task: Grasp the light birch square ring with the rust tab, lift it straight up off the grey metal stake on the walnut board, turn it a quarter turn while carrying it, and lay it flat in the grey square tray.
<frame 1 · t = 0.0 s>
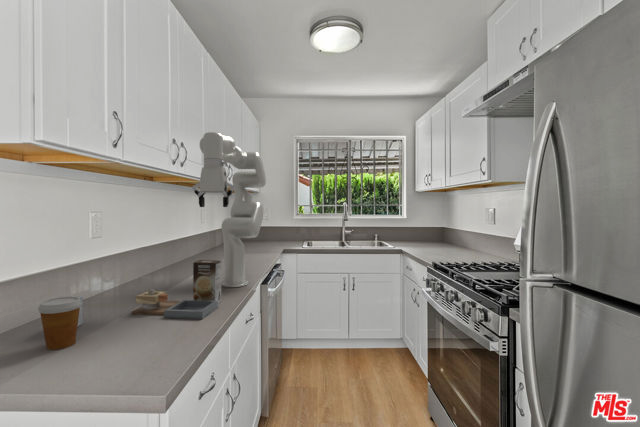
hand: (213, 207, 142), 37 cm above the worktop, tool pointing down, fingers open, 9 cm apart
stake board: (159, 308, 128), on the worktop
birch ring: (151, 300, 126), point 3 cm above the worktop, touching stake board
brown food box: (207, 303, 136), on the worktop
medicine box: (69, 329, 108), on the worktop
grey square tray: (192, 312, 124), on the worktop
disposable coffee cup: (61, 345, 95), on the worktop
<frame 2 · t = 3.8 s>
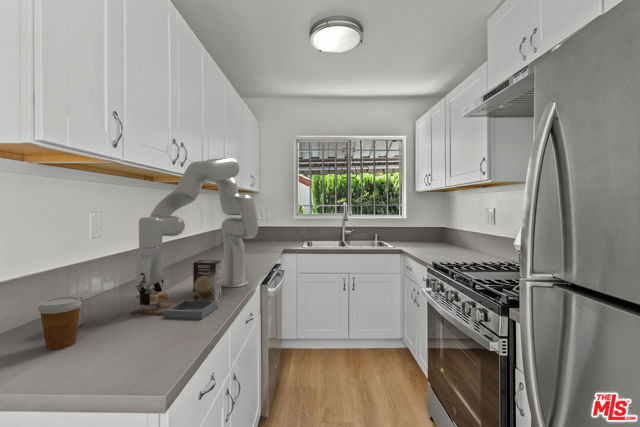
hand: (151, 301, 126), 3 cm above the worktop, tool pointing down, fingers closed on birch ring, 7 cm apart
birch ring: (151, 300, 126), point 4 cm above the worktop, touching gripper, stake board
everything else where it was.
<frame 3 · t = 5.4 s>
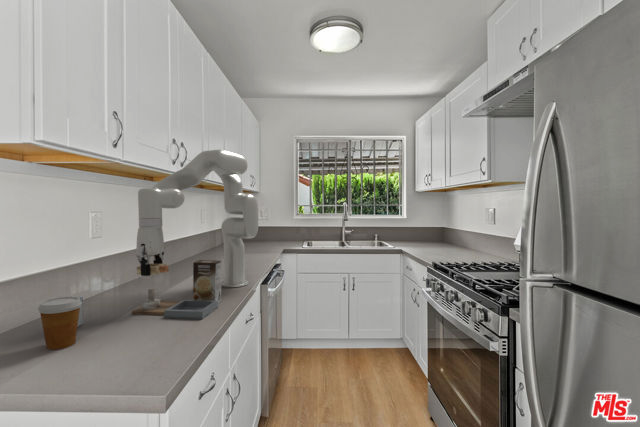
hand: (152, 272, 126), 13 cm above the worktop, tool pointing down, fingers closed on birch ring, 7 cm apart
birch ring: (152, 272, 126), point 14 cm above the worktop, touching gripper
everything else where it was.
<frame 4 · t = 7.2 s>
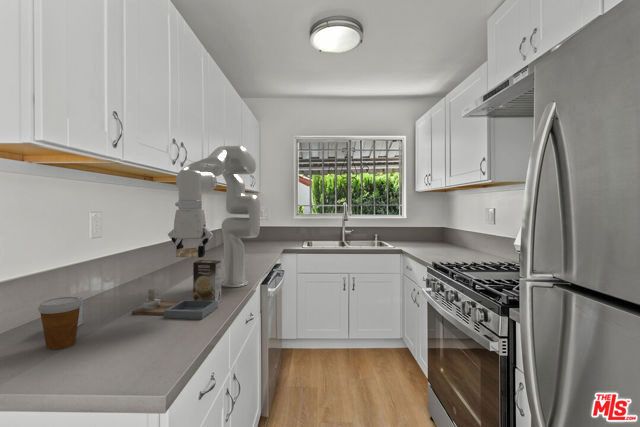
hand: (190, 256, 123), 20 cm above the worktop, tool pointing down, fingers closed on birch ring, 7 cm apart
birch ring: (190, 255, 123), point 20 cm above the worktop, touching gripper
everything else where it was.
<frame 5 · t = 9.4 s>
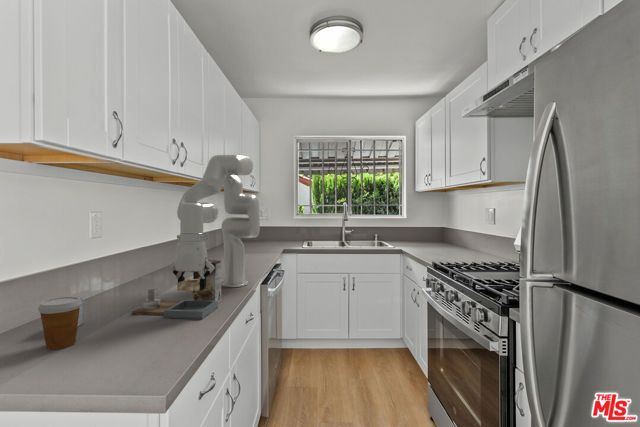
hand: (192, 288, 123), 8 cm above the worktop, tool pointing down, fingers closed on birch ring, 7 cm apart
birch ring: (192, 288, 123), point 9 cm above the worktop, touching gripper
everything else where it was.
when the fingers open (2 cm above the worktop, at t = 11.1 s): birch ring drops 1 cm, resting on grey square tray.
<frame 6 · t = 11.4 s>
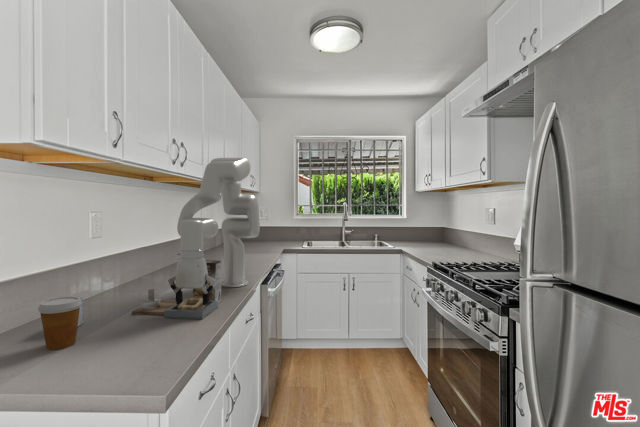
hand: (192, 303, 124), 3 cm above the worktop, tool pointing down, fingers open, 9 cm apart
birch ring: (192, 308, 124), point 1 cm above the worktop, tilted 11°, touching grey square tray
everything else where it was.
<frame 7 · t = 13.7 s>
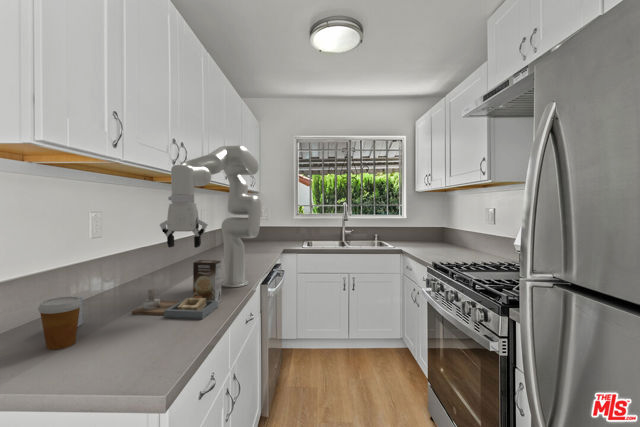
hand: (184, 247, 128), 22 cm above the worktop, tool pointing down, fingers open, 9 cm apart
nothing on the worktop moved.
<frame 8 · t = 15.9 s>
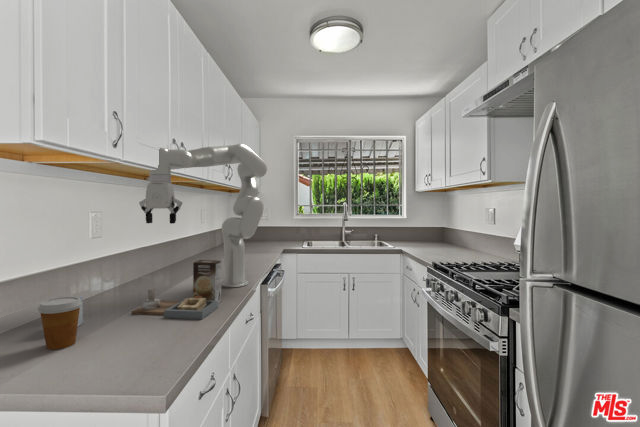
hand: (160, 223, 140), 30 cm above the worktop, tool pointing down, fingers open, 9 cm apart
nothing on the worktop moved.
at the end: birch ring 0.1 cm off-centre on the grey square tray, point 1.2 cm above the grey square tray's base; birch ring tilted 11°; the gripper is holding nothing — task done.
